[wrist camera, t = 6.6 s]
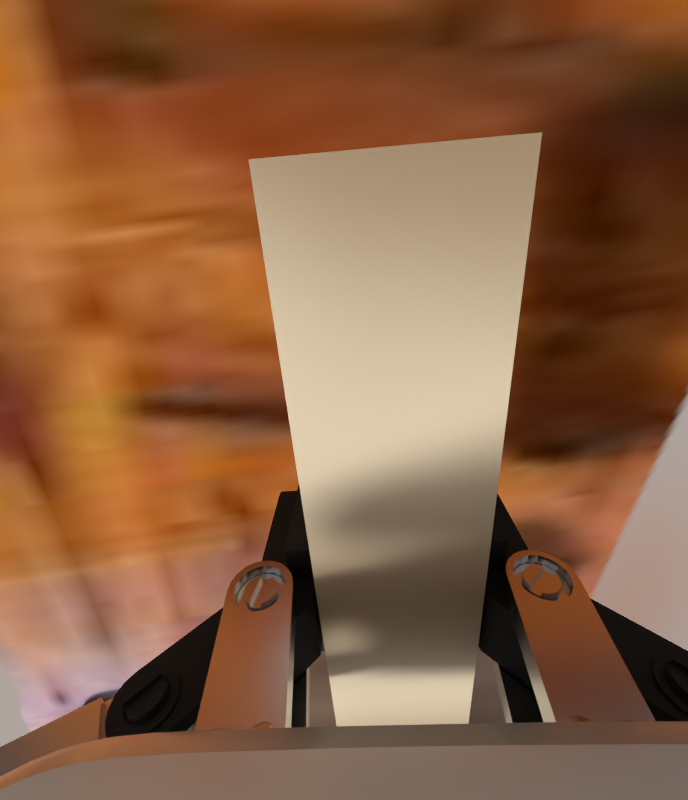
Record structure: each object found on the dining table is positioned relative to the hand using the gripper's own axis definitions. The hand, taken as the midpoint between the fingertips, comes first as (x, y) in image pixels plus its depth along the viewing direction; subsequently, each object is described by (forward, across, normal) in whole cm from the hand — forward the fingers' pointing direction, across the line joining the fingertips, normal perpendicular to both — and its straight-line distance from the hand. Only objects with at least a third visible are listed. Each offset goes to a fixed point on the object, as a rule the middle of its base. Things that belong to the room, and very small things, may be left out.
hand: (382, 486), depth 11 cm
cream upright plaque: (+1, 0, 0) cm, 1 cm away
